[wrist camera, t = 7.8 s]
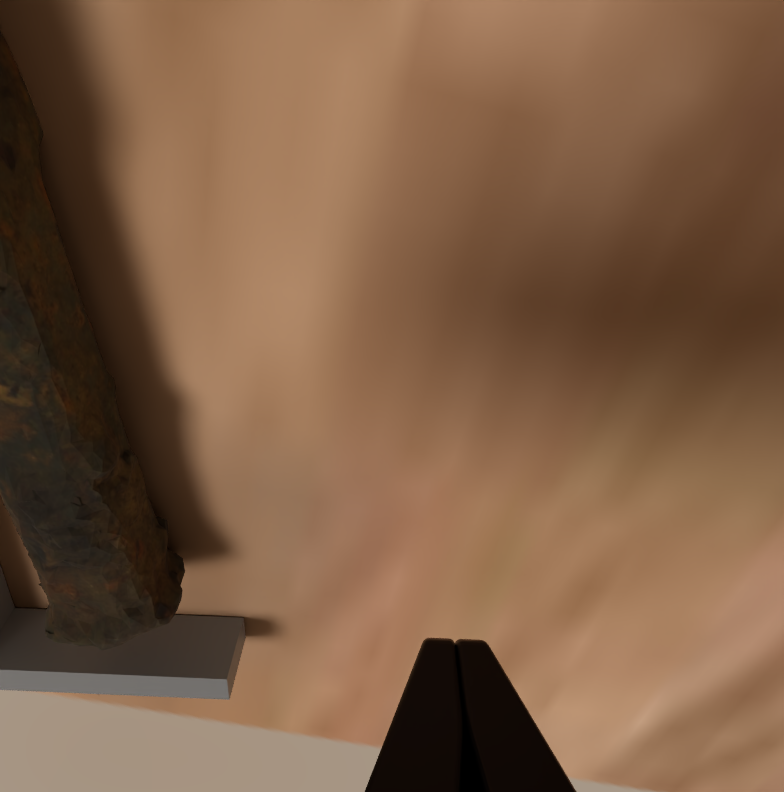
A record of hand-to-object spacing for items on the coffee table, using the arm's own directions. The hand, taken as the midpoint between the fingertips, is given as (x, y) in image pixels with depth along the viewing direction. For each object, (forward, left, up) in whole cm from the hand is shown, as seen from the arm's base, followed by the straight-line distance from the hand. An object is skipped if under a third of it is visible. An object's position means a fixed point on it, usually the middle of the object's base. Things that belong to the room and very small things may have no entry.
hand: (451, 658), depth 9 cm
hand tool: (+11, -1, -11) cm, 15 cm away
